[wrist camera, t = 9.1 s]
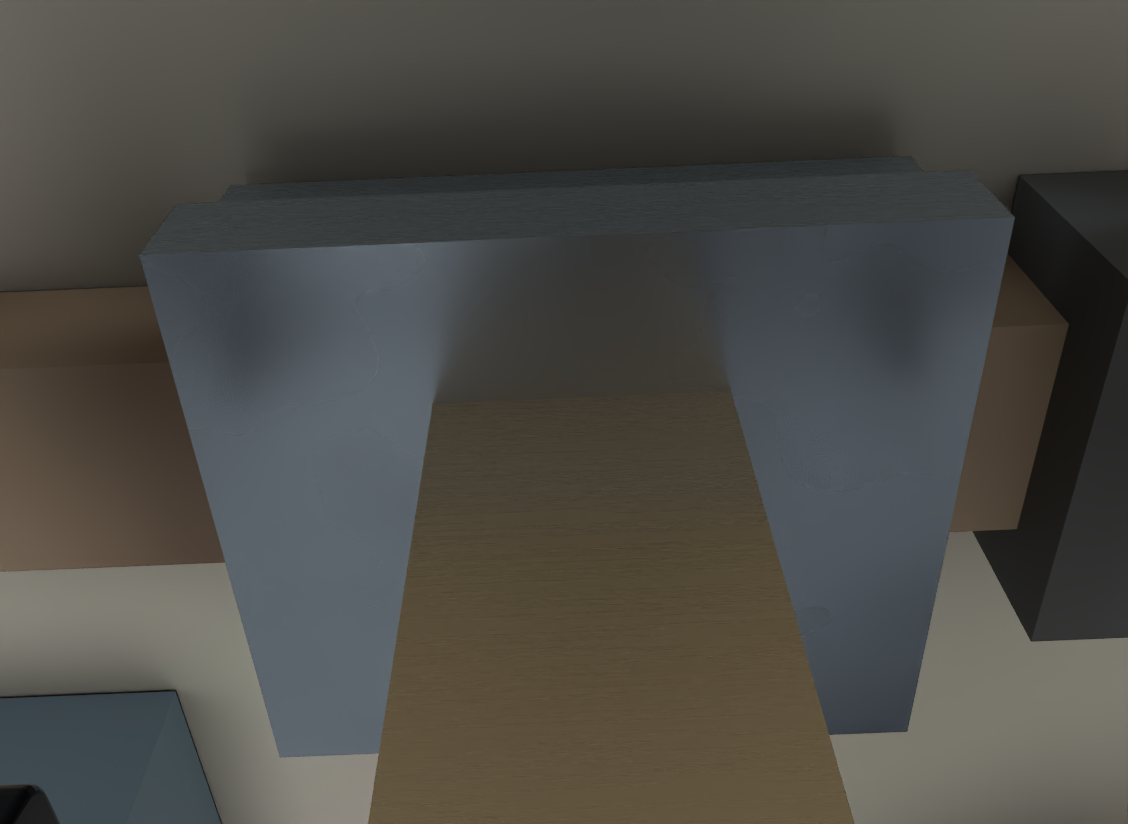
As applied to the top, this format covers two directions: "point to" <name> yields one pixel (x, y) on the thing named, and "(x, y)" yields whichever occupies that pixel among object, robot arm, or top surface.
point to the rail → (983, 503)
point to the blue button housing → (106, 758)
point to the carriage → (586, 470)
